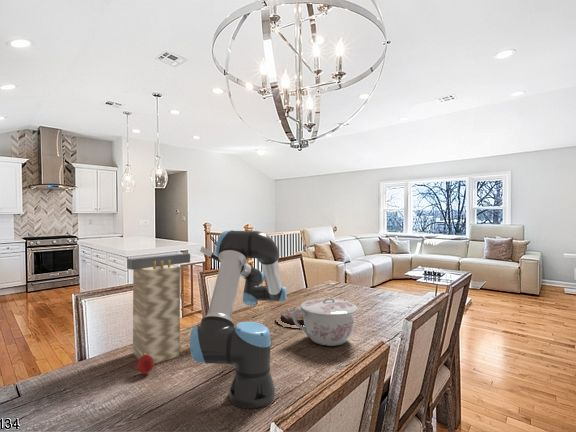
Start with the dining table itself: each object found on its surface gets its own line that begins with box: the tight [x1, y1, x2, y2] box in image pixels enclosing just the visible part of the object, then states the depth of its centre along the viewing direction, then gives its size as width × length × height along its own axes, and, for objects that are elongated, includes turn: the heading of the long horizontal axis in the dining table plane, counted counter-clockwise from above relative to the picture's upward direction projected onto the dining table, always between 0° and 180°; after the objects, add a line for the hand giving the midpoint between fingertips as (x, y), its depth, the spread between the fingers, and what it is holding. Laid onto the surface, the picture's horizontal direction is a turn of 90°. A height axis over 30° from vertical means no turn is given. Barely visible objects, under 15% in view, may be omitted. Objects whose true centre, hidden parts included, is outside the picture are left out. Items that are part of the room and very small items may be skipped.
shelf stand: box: [132, 260, 181, 365], centre depth 137 cm, size 14×16×41 cm
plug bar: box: [126, 252, 191, 270], centre depth 140 cm, size 27×4×4 cm, turn 141°
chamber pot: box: [292, 297, 359, 347], centre depth 154 cm, size 28×28×21 cm
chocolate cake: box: [280, 306, 304, 326], centre depth 183 cm, size 28×28×7 cm
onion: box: [136, 353, 155, 375], centre depth 120 cm, size 6×6×8 cm
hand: (207, 250), depth 152 cm, fingers open, 13 cm apart
